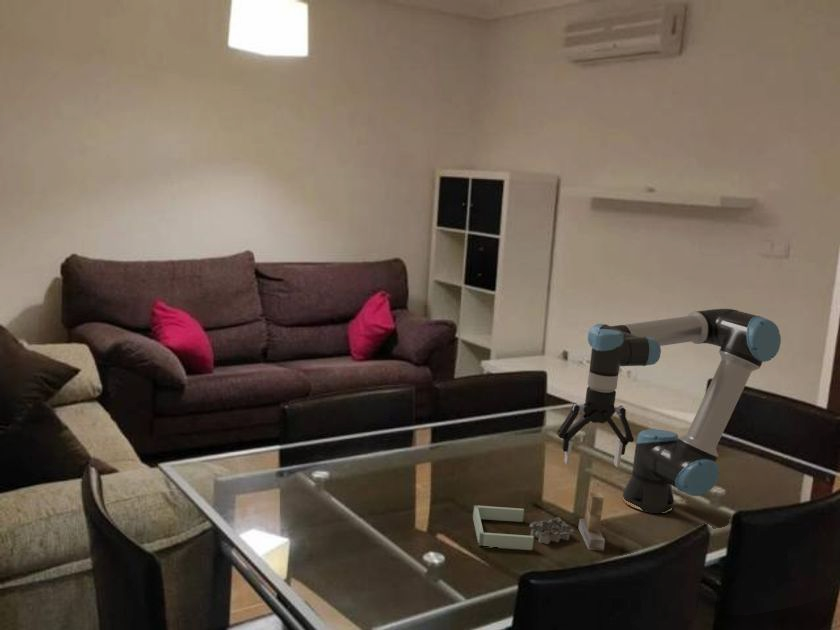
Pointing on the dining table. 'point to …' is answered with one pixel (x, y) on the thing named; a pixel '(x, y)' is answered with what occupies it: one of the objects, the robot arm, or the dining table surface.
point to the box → (500, 539)
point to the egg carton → (550, 530)
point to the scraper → (593, 523)
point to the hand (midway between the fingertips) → (591, 464)
